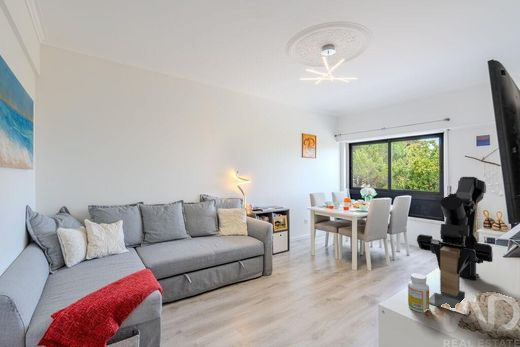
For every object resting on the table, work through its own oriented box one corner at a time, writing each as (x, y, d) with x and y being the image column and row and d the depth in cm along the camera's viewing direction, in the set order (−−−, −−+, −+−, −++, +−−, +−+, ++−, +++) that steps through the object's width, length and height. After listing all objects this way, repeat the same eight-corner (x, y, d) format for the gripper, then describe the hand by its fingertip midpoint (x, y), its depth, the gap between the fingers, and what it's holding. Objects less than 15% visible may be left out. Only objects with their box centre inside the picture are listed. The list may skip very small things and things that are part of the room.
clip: (434, 293, 84) (434, 283, 84) (473, 305, 77) (473, 294, 77) (426, 302, 79) (426, 291, 79) (467, 316, 71) (467, 303, 71)
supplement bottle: (421, 302, 79) (421, 271, 79) (433, 312, 74) (433, 279, 73) (404, 303, 79) (404, 272, 79) (415, 313, 73) (415, 280, 73)
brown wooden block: (443, 286, 81) (443, 246, 80) (459, 291, 78) (459, 249, 77) (440, 291, 78) (440, 249, 78) (456, 296, 75) (456, 252, 75)
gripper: (418, 210, 87) (408, 250, 79) (492, 217, 73) (488, 266, 66) (424, 229, 92) (415, 268, 85) (493, 238, 79) (491, 286, 72)
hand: (448, 271), depth 77 cm, fingers closed on brown wooden block, 4 cm apart
